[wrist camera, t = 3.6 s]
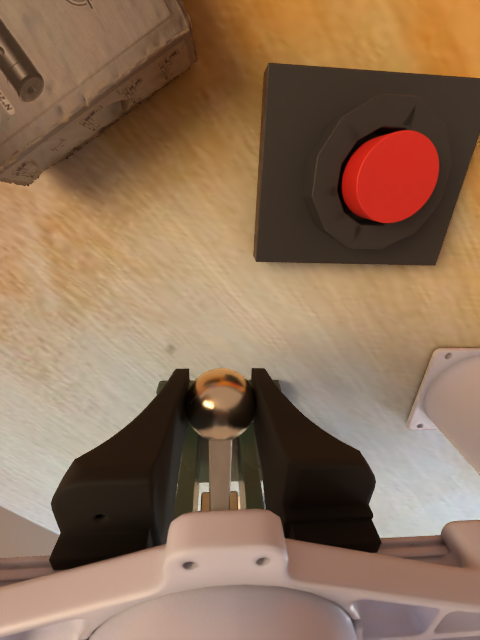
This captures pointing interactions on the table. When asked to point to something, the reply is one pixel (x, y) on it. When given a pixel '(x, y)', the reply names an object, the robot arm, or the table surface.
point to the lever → (220, 427)
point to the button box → (335, 151)
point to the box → (80, 72)
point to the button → (391, 176)
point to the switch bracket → (197, 468)
